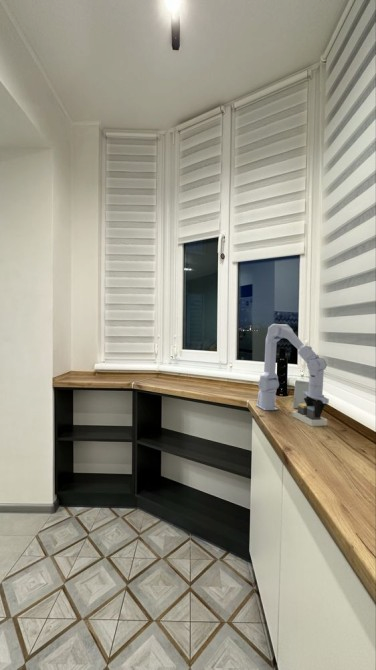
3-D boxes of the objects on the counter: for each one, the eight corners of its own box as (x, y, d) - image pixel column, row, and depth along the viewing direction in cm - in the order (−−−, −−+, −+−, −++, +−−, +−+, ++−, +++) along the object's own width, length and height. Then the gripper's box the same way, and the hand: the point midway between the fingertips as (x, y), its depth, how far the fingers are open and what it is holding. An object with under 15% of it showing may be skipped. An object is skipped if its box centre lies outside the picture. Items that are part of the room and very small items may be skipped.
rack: (292, 416, 142) (292, 411, 142) (306, 415, 144) (306, 410, 144) (311, 426, 129) (311, 420, 129) (327, 425, 131) (327, 419, 131)
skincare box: (292, 408, 157) (294, 379, 156) (293, 405, 162) (295, 378, 161) (310, 410, 153) (311, 381, 152) (310, 407, 159) (312, 379, 158)
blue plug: (306, 418, 135) (307, 406, 134) (314, 417, 136) (314, 405, 136) (312, 421, 131) (313, 408, 131) (320, 420, 132) (321, 408, 132)
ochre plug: (297, 415, 141) (298, 403, 141) (304, 414, 142) (305, 403, 142) (302, 417, 137) (303, 406, 137) (310, 417, 138) (311, 405, 138)
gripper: (335, 388, 127) (333, 420, 127) (312, 381, 141) (311, 410, 141) (321, 388, 125) (319, 421, 125) (299, 382, 139) (298, 410, 139)
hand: (314, 415), depth 133 cm, fingers closed on blue plug, 4 cm apart
